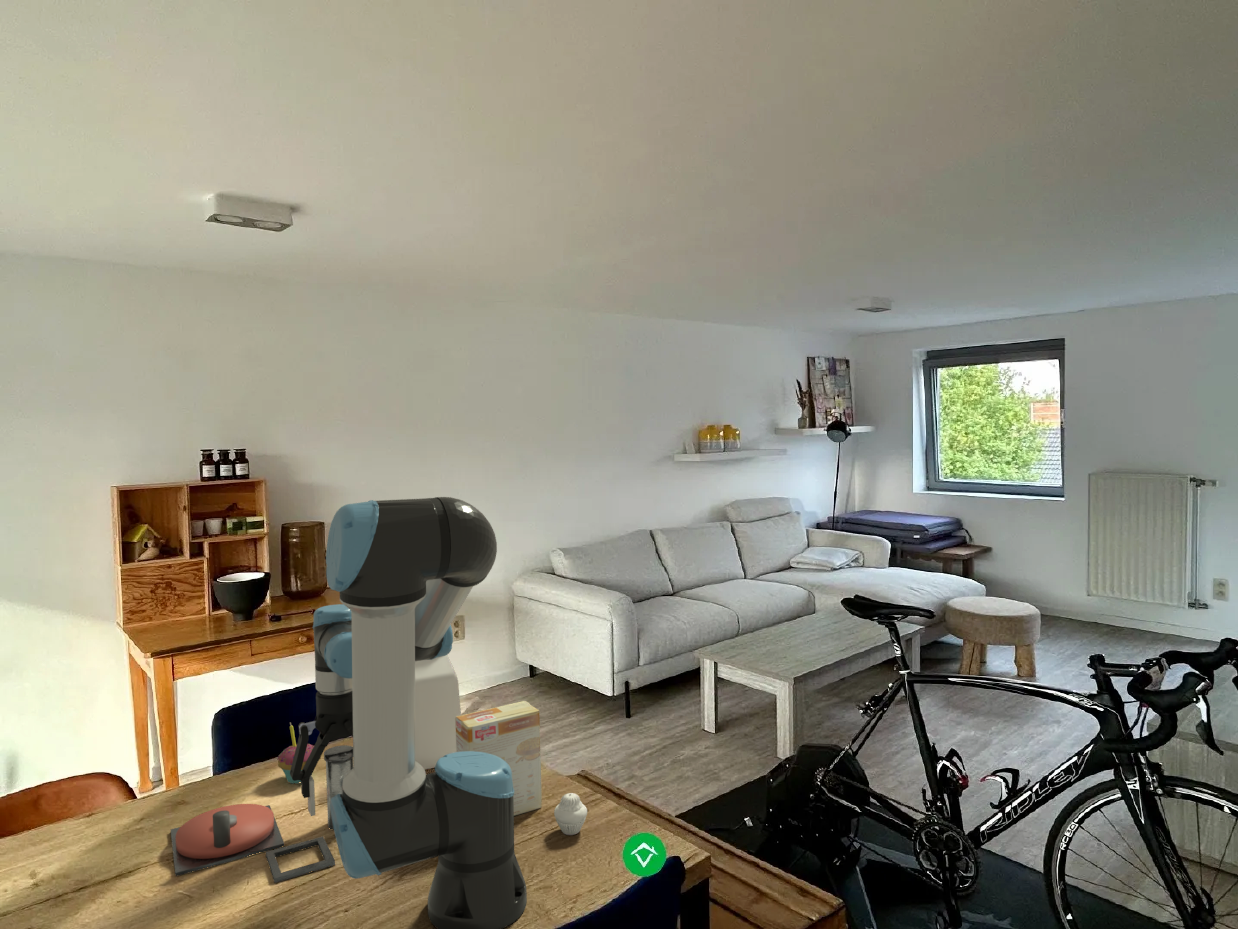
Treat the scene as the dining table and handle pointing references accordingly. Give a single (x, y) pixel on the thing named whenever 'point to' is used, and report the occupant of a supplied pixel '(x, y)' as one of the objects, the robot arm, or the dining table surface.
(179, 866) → the wheel base
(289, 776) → the cupcake
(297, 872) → the grey flat square frame
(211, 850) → the red disc with handle
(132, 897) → the dining table surface
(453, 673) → the milk
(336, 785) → the metal peg
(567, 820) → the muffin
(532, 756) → the coffeecake box
